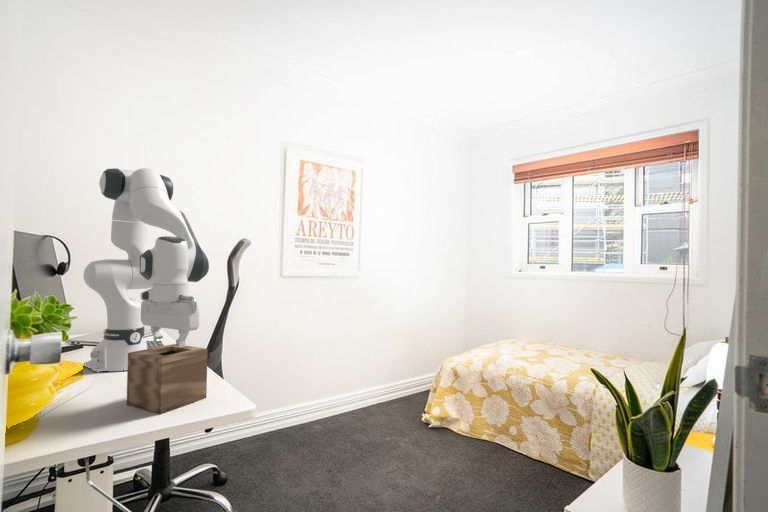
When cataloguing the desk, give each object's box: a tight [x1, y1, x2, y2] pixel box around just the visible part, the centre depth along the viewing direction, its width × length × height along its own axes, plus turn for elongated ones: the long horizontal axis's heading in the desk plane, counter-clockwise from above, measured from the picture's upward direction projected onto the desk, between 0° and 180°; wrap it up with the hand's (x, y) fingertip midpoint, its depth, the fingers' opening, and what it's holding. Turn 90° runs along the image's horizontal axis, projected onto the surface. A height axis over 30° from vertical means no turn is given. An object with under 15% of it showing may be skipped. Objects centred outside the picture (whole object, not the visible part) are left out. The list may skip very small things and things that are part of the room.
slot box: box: [126, 343, 209, 415], centre depth 112 cm, size 14×14×14 cm
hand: (169, 344), depth 112 cm, fingers open, 8 cm apart
